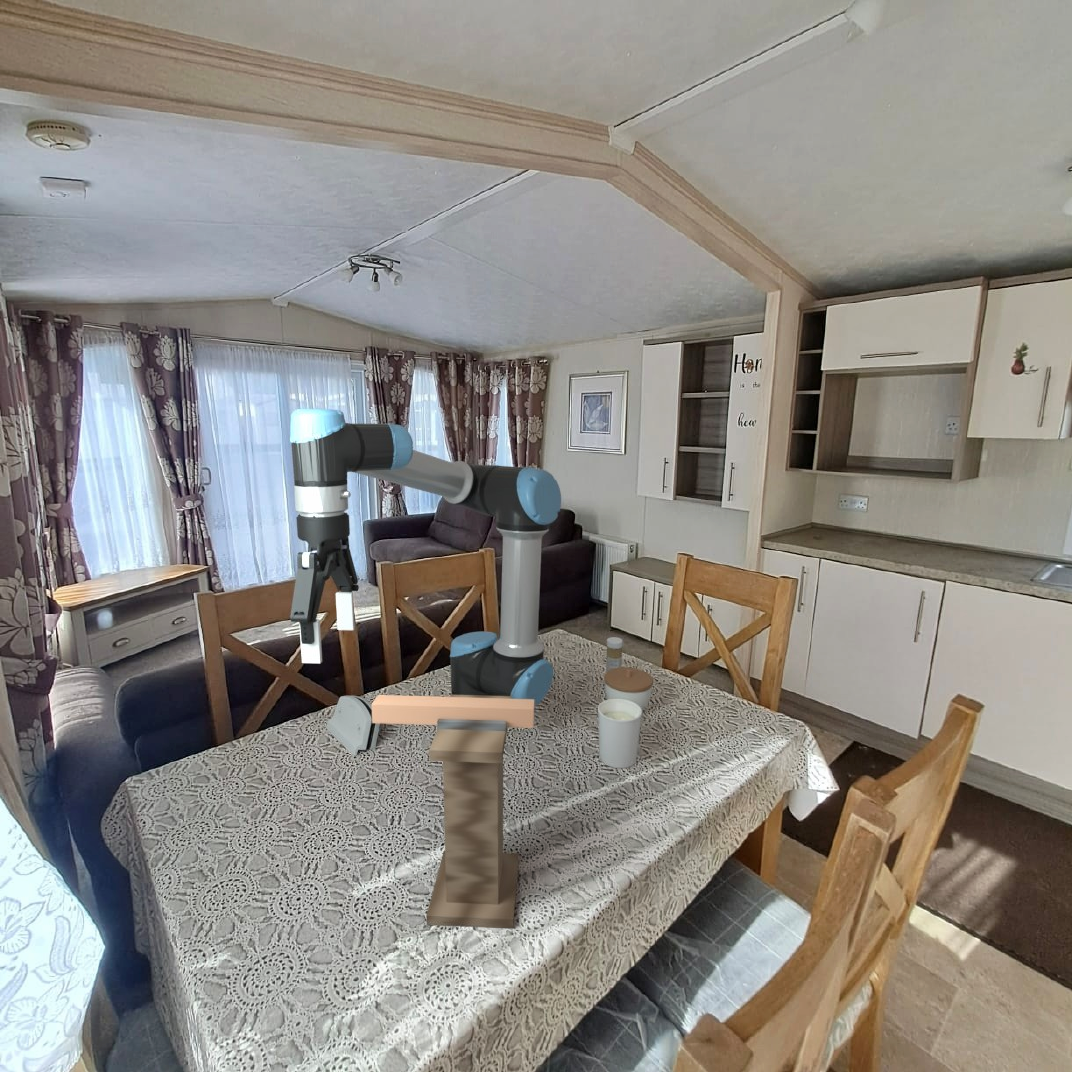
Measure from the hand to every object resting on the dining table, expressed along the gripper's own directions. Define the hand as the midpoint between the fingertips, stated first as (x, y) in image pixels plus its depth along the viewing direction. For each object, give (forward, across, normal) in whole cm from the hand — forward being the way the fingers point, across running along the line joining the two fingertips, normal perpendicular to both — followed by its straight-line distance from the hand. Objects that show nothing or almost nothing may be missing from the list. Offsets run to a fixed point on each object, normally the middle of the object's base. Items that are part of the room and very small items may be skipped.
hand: (330, 644), depth 89 cm
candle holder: (+39, +32, -51) cm, 72 cm away
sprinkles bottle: (+39, +70, -54) cm, 96 cm away
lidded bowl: (+39, +54, -56) cm, 87 cm away
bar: (+9, -6, -21) cm, 23 cm away
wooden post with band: (+39, -6, -24) cm, 46 cm away
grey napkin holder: (+39, +38, +12) cm, 56 cm away
